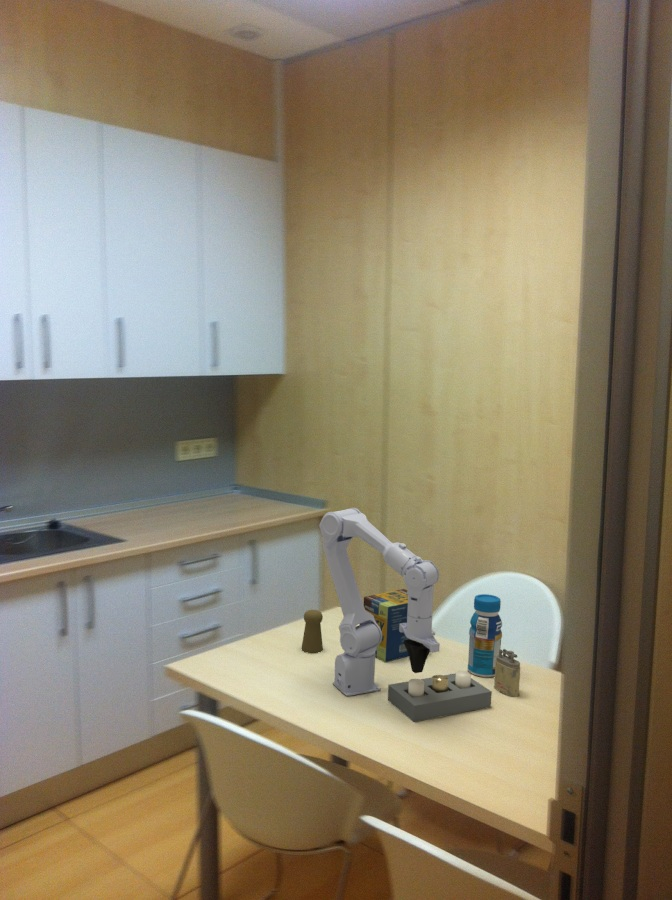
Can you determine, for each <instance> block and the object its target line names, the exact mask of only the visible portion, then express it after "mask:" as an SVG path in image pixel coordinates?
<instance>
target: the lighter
mask: <svg viewBox="0 0 672 900" xmlns="http://www.w3.org/2000/svg"><path fill="white" fill-rule="evenodd" d="M515 658H518V655H517V654H515V651H514V650H507V649H506V648H503V649H499V655H497V657H496V665H495V676H494V685H493V688H494V689H496V690H497V691H498V692H499V693H502V694H504V695H507V696H509V697H517V696H519V695H520V679H521V677H520V676H521V662H520V661H519V660H516V659H515Z"/></svg>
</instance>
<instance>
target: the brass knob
mask: <svg viewBox="0 0 672 900" xmlns="http://www.w3.org/2000/svg"><path fill="white" fill-rule="evenodd" d="M444 675H445V674H444ZM444 675H443V674H435V675H433V676H432V677H433V680H432V690H433V691H435V692H436V693H441V692H447V689H448V677H446V676H444Z"/></svg>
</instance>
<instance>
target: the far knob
mask: <svg viewBox="0 0 672 900" xmlns="http://www.w3.org/2000/svg"><path fill="white" fill-rule="evenodd" d="M455 673H456V677H455V686H457V687H458V688H460V689H464V688H469V687H470V683H471V678H472V673H470V672H469V671H466V670H465V671H464V670H460V671H459V670H458V671H456V672H455Z"/></svg>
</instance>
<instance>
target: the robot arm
mask: <svg viewBox="0 0 672 900" xmlns="http://www.w3.org/2000/svg"><path fill="white" fill-rule="evenodd" d="M318 525H319V526H318V527H319V530H320V533H321V536H322V550H323V552H324V557H325V559H326V564H327V567H328V570H329V574H330V576H331V579H332V582H333V583H332V584H333V586H334V588H335V592H336V595H337V599H338V602H339V606H340V608H341V613H342V615H343V618H342V620H341V622H340V624H339V626H338V629H339V634H340V638H339V642H340V646H341V649H342V650H343V653H340V654H338V655H336V656H335V660H334V681H333V682H332V685H334V686H335V687H336V688H337V689H338V690H339V691H340V692H341V693H342V694H343V695H345V696H347V697H348V696H349V697H350V696H355V695H362V694H369V693H373V692H379V691H381V689H382V688H381V687H380V686H379V685H377V684H376V683H375V673H376V672H375V670H376V667H375V666H376V657H375V651H376V650H377V645H379V644H380V642H381V640H382V632H381V629H380V627H379V626H378V625H377V623H376V622H375V619H374V616H373V615H372V614H370V613H369V612H367V611H366V610H365V608H364V601H363V599H362V596H361V593H360V590H359V587H358V582H357V580H356V577H355V573H354V570H353V567H352V564H351V560H350V557H349V554H348V550H347V548H348V546H349V544H350V543H351V541H352V540H353V538H359V539H361V540H362V541H363V542H365V543H366V544H368V545H369V546H371V547H372V548H374V550H376V551H378V552H379V553H381V554H382V556H383V561H384V563H385V564H387V565H388V566H389V567H390V568H391V569H393V570H394V571H395V572H396V573H398V575H400V576H401V577H403V582H404V584H405V586H406V588H407V589H406V590H407V594H408V610H407V623H401V624H400V625H399V631H400V632H401V633H403V632H404V634H405V636H406V637H407V638H409V640H405V641H404V645H405V647H406V649H407V652H408V655H409V656H408V658H409V663H410V667H411V672H412V673H414V674H419V673H423V671H424V669H425V668H424V667H425V664H426V661H427V659H428V656H429V655H430V653H431V654H432V653H433V654H434V653H438V652H440V645H441V643H440V642H438V641H437V639H436V638H435V635H436V632H435V631H434V630H433V629H432V627H433V606H434V605H433V604H434V590H435V589H434V588H435V586H434V585H435V584H437V583H438V581H439V577H440V572H439V569H438V567H437V566H436V565H435V563H434V562H433V561H432V560H429V559H427V560H426V559H425V560H423V559H422V557H421V556H417V555H416V554H415V553H413V552H412V551H411V550H409V549H408V548H407V545H406V544H405V543H404V542H402V543H400V542H399V541H398V542H392V541H390V539H389V538H387V537H386V536H385V534H383V533H382V532H381V531H380V530H379V529H377V527H375V526H374V525H373V524H372V523H371V522H370V521H369V520H368V518H367V515H366V514H365V513H362V512H361V510H360V509H358V508H357V507H349V508H347V509H343V510H337V511H328V512H327V513H325V514H324V515H323V516H322V518H321V521H320V522H319V524H318Z"/></svg>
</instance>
